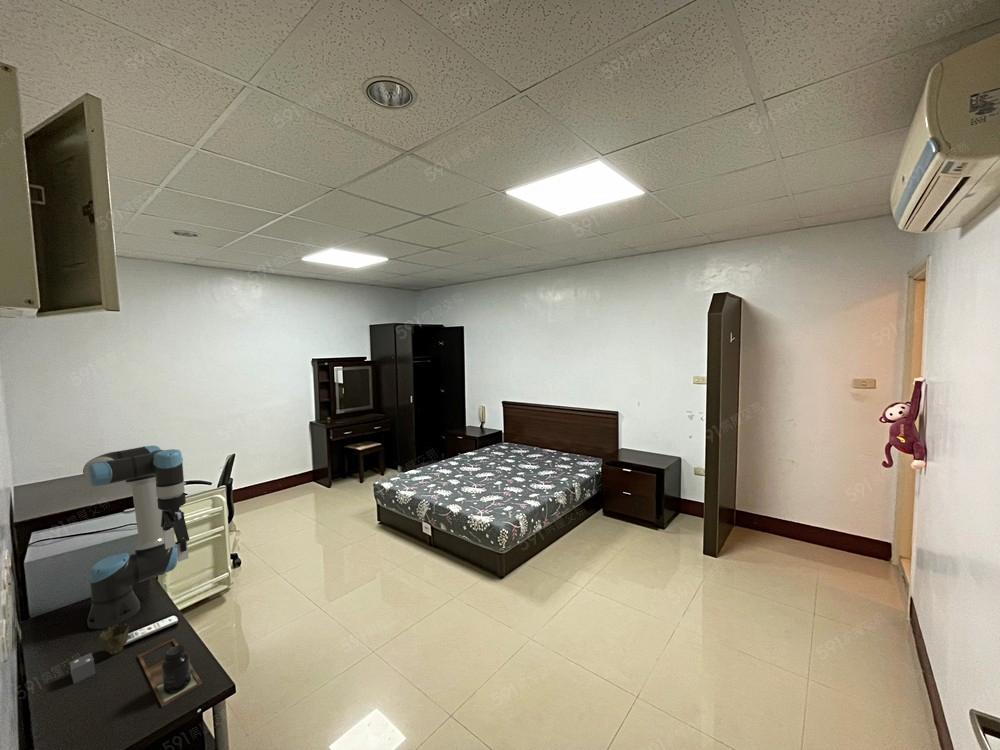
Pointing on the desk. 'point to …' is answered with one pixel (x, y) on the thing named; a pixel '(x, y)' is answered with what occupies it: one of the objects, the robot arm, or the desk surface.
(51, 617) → the desk surface
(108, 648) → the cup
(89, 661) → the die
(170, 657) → the supplement bottle
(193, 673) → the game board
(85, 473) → the robot arm
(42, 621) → the desk surface
